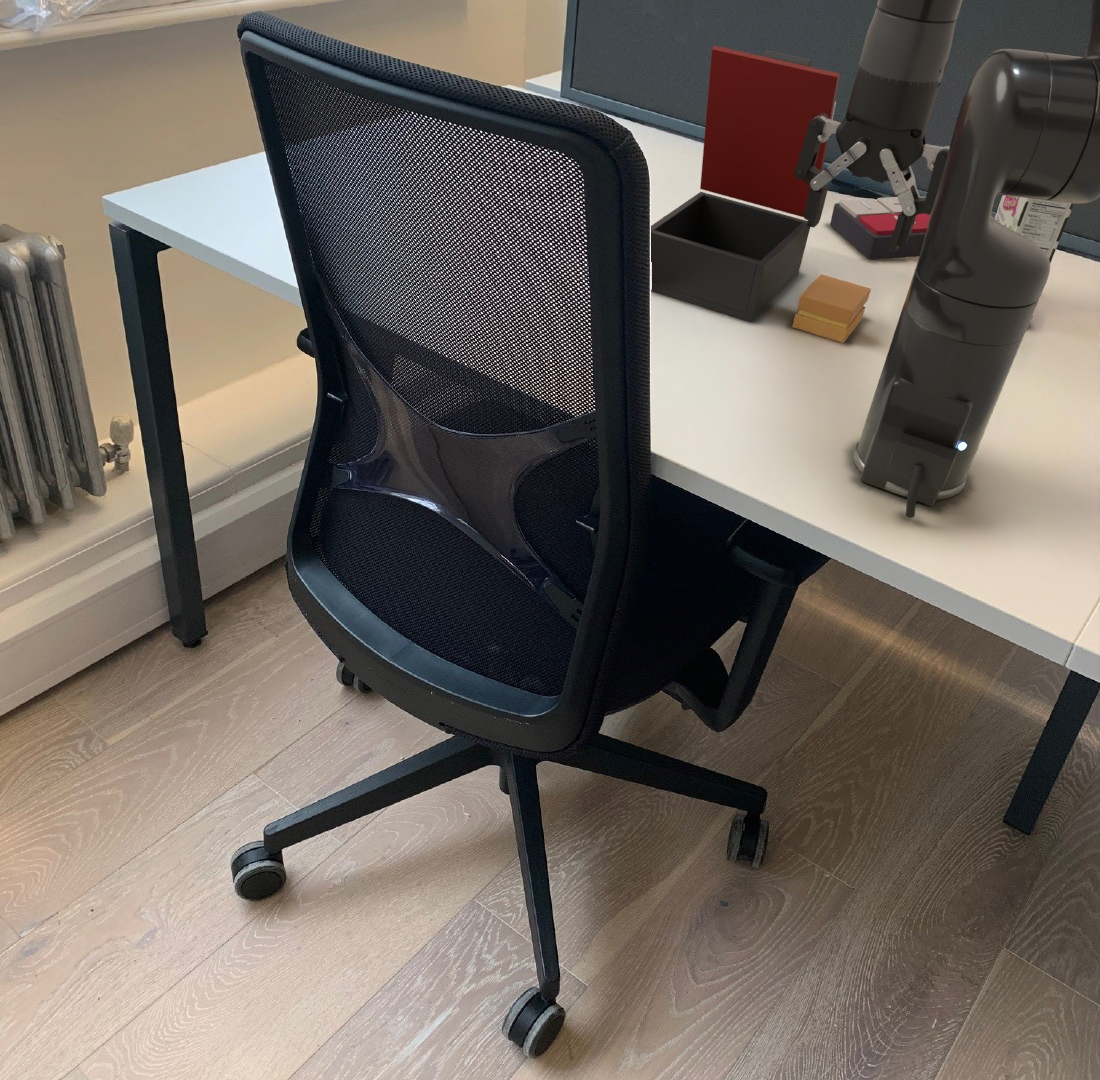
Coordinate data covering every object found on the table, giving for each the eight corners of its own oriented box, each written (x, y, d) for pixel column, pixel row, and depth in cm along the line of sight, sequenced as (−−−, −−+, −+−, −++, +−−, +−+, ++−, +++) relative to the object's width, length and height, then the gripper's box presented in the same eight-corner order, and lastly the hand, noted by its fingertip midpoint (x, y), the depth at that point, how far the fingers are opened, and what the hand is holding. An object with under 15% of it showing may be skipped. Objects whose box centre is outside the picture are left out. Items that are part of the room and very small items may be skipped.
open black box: (751, 322, 110) (764, 265, 106) (635, 285, 114) (644, 230, 110) (798, 274, 121) (811, 221, 117) (691, 243, 125) (700, 191, 122)
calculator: (834, 197, 132) (939, 191, 135) (827, 229, 135) (930, 223, 138) (875, 231, 124) (987, 224, 127) (867, 265, 127) (976, 257, 130)
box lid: (837, 77, 104) (855, 53, 107) (711, 48, 108) (732, 26, 111) (811, 219, 117) (828, 195, 119) (699, 189, 121) (718, 166, 124)
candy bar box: (968, 280, 124) (1019, 140, 114) (1011, 287, 124) (1066, 147, 114) (980, 320, 115) (1036, 172, 105) (1026, 328, 115) (1087, 180, 105)
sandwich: (843, 343, 108) (852, 311, 106) (792, 327, 110) (800, 295, 107) (861, 319, 113) (871, 288, 111) (812, 304, 115) (820, 273, 112)
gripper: (814, 57, 95) (774, 228, 105) (970, 93, 90) (912, 268, 101) (838, 43, 101) (798, 207, 111) (987, 76, 96) (931, 244, 106)
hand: (853, 236), depth 106 cm, fingers open, 8 cm apart
